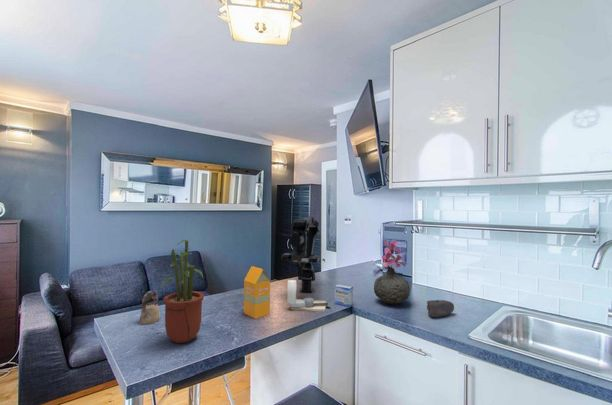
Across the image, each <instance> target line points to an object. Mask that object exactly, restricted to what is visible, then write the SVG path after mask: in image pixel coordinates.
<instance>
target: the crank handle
mask: <svg viewBox="0 0 612 405" xmlns="http://www.w3.org/2000/svg"><path fill="white" fill-rule="evenodd" d="M286 291H287V294H286V297H287V298H286V303H287V304H288V305H291V306H292V307H313V306H314V305H328V304H329V302H327V301H326V303H314V300H315V298H314V297H309V296H307V297H305V298H303V299H304V301H300V302H296V299H297V280H296V279H288V280H287V290H286ZM291 306H290V307H291Z"/></svg>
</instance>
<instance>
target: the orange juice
mask: <svg viewBox="0 0 612 405" xmlns="http://www.w3.org/2000/svg"><path fill="white" fill-rule="evenodd" d="M249 268H250V269H249V271H248V272H247V274H246V276H245V278H244V279H243V282H244V283H243V286H244V287H243V314H244V315H247V316H249V317H251V318H252V319H259V318H262V317H264V316H268V315H270V308H271V306H270V305H271V280H270V279H269V277H268V276H267V274H266V273H265V272H266V271H264V269H263V268H260V267H257V266H254V265H251V267H249Z"/></svg>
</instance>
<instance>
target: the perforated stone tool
mask: <svg viewBox="0 0 612 405" xmlns="http://www.w3.org/2000/svg"><path fill="white" fill-rule="evenodd" d="M454 309H455V305H454V303H453V302H451V301H449V300H446V299H445V300H444V299H435V300H434V299H431V300H427V301H426V310H427V311H428V312H427V314H428V316H430V317H431V318H441V317H446V316H449V315H450V314H452V313H453V312H454Z"/></svg>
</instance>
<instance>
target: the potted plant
mask: <svg viewBox="0 0 612 405" xmlns="http://www.w3.org/2000/svg"><path fill="white" fill-rule="evenodd" d="M181 243H184V245H185V246H184V252H183V251H182V252H181V251H180V252H179V253H178V256H179V258H177V256H176V252H175V249H174V248H172V250H171V253H170V254H171V258H172V261H171V262H170V264H169V265H170V267H172V266H173V268H174V275H175V277H169V278H166V279H164V281H162V282H161V283H160V285H159V287H158V288H157V290H155V291H156V292H157V293H158V291H159V290H160V288H162V287H163V285H165V284H166V283H168V282H169V281H171V280H174V279H175V284H176V292H172V293H169V294H168V295H166V296H164V297H163V299H162V300H163V302H162V304H164V305H165V307H164V327H165V332H166V336H167V337H168V339H169V340H170V341H172V342H174V343H177V344H184V343H188V342H190V341H192V340H193V339H194V338H196V336H197V335H198V333H199V332H200V329H201V325H202V324H201V323H202V315H203V314H202V311H203V310H202V309H203V308H202V305H203V302H202V301H203V300H204V297H205V294H204V293H203V292H201V291H197V290H195V291H194V290H193V288H194V286H193V285H194V284H193V283H194V273H195V272H197V273H199V274H200V276H201V278H202V279H203V278H204V277H203V271H201V270H200V269H197V268H195V266H194V265H191V264H190V263H189V261H188V260H189V258H188V257H189V255H192V252H189V240H188V239H182V240H181V241H180V242H178V243H177V244H176V245H175V247H178V245H180V244H181ZM183 258H184V260H183ZM178 260H179V267H178ZM192 263H196V262H194V261H193V262H192ZM179 268H180V269H179ZM179 272H180V275H179ZM155 294H156V293H155ZM156 295H157V294H156Z"/></svg>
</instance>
